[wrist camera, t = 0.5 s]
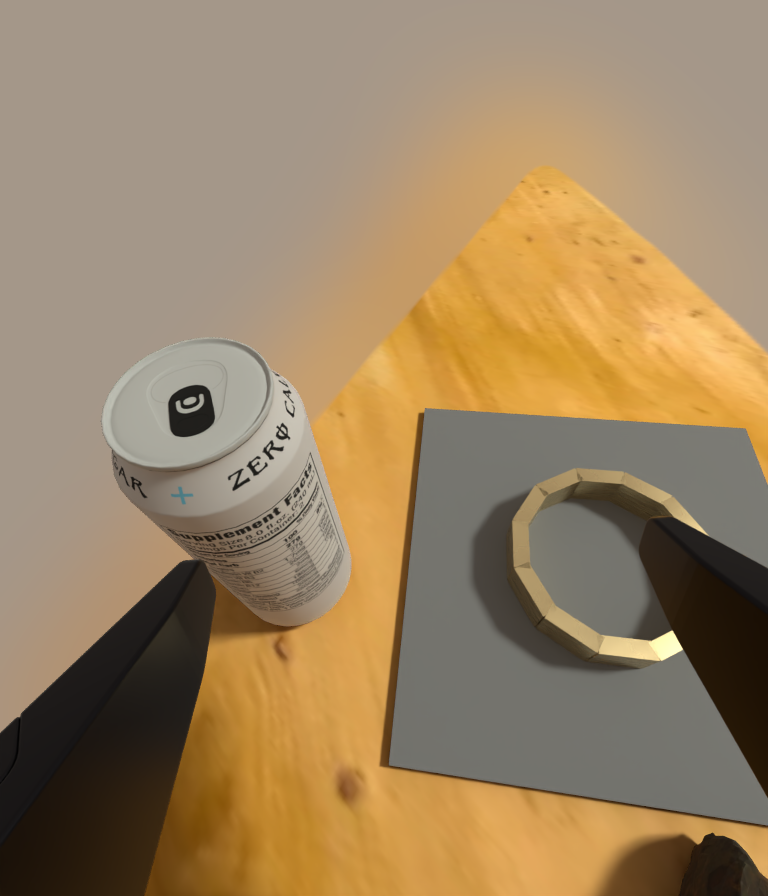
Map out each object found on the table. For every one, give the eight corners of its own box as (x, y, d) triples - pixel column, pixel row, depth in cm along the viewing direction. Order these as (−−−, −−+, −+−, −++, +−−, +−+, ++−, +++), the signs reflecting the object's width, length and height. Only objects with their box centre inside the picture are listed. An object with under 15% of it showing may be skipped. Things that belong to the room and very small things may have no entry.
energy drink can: (336, 510, 27) (270, 304, 15) (367, 606, 24) (317, 444, 12) (237, 544, 26) (81, 355, 14) (256, 648, 23) (72, 521, 11)
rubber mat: (899, 846, 18) (908, 847, 17) (389, 765, 20) (388, 765, 20) (741, 432, 29) (745, 428, 28) (424, 412, 31) (424, 408, 31)
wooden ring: (722, 678, 21) (749, 672, 19) (508, 652, 22) (516, 643, 20) (675, 494, 26) (692, 476, 25) (505, 480, 27) (510, 463, 26)
